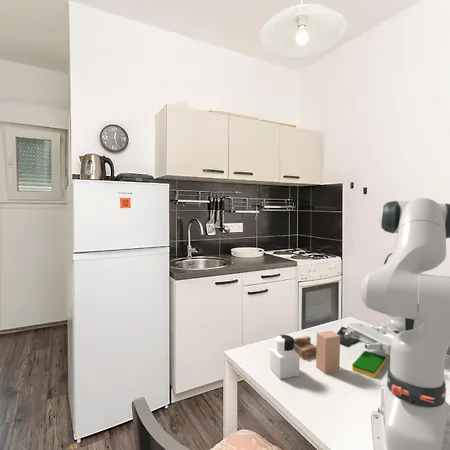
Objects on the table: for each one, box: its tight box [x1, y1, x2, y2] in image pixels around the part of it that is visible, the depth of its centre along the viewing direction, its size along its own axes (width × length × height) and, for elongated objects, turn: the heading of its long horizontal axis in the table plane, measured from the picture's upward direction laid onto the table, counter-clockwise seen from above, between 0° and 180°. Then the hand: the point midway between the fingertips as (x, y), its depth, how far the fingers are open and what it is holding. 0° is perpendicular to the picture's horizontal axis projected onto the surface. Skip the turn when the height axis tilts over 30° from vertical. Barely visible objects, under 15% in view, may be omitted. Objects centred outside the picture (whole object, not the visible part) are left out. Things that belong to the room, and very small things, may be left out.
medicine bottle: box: [269, 334, 301, 380], centre depth 101 cm, size 7×7×12 cm
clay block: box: [315, 330, 341, 375], centre depth 103 cm, size 6×4×12 cm
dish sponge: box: [351, 350, 386, 379], centre depth 106 cm, size 7×14×2 cm, turn 139°
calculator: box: [336, 326, 360, 348], centre depth 127 cm, size 9×12×3 cm
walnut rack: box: [293, 336, 317, 360], centre depth 117 cm, size 10×11×3 cm
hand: (355, 341), depth 108 cm, fingers open, 8 cm apart
